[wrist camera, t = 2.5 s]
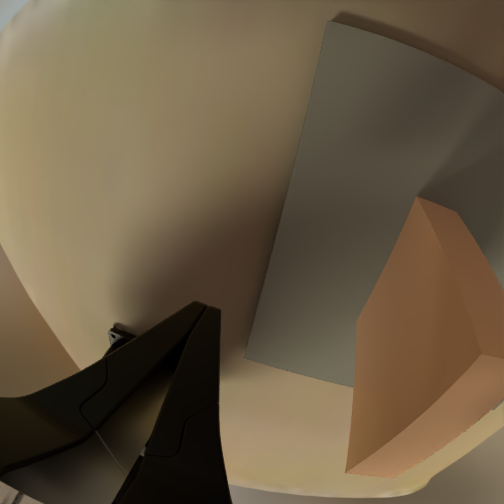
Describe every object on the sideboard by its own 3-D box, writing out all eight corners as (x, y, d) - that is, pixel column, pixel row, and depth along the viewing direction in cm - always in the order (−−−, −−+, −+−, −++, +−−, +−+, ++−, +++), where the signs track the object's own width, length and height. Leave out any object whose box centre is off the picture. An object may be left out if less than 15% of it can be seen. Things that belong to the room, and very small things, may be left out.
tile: (356, 320, 15) (345, 472, 9) (416, 195, 11) (481, 354, 5) (396, 331, 15) (400, 478, 8) (462, 214, 11) (543, 367, 4)
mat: (246, 350, 19) (243, 357, 19) (328, 23, 9) (327, 20, 9) (492, 403, 17) (493, 410, 17) (631, 205, 7) (636, 209, 6)
